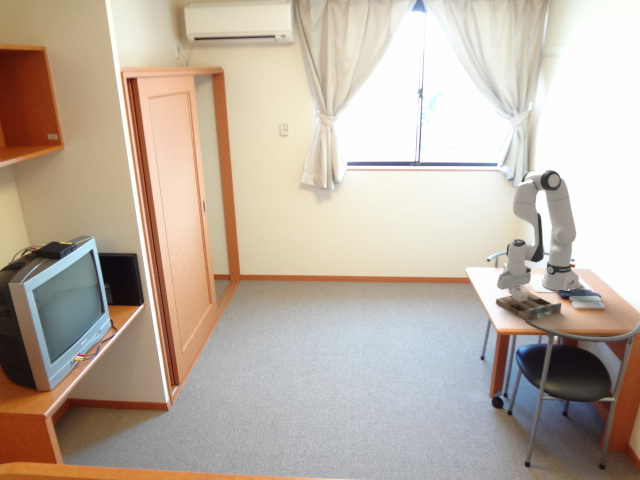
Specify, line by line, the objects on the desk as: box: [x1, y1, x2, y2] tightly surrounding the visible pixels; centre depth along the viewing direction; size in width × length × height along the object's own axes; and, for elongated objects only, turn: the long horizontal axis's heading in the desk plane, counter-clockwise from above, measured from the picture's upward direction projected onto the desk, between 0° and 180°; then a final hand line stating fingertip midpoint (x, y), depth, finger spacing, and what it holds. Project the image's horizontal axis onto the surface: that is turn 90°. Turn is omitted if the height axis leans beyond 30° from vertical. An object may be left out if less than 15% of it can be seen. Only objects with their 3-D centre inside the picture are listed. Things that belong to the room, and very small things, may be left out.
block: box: [511, 289, 528, 302], centre depth 252 cm, size 5×6×4 cm
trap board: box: [495, 291, 562, 321], centre depth 247 cm, size 22×22×5 cm
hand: (512, 293), depth 257 cm, fingers closed
